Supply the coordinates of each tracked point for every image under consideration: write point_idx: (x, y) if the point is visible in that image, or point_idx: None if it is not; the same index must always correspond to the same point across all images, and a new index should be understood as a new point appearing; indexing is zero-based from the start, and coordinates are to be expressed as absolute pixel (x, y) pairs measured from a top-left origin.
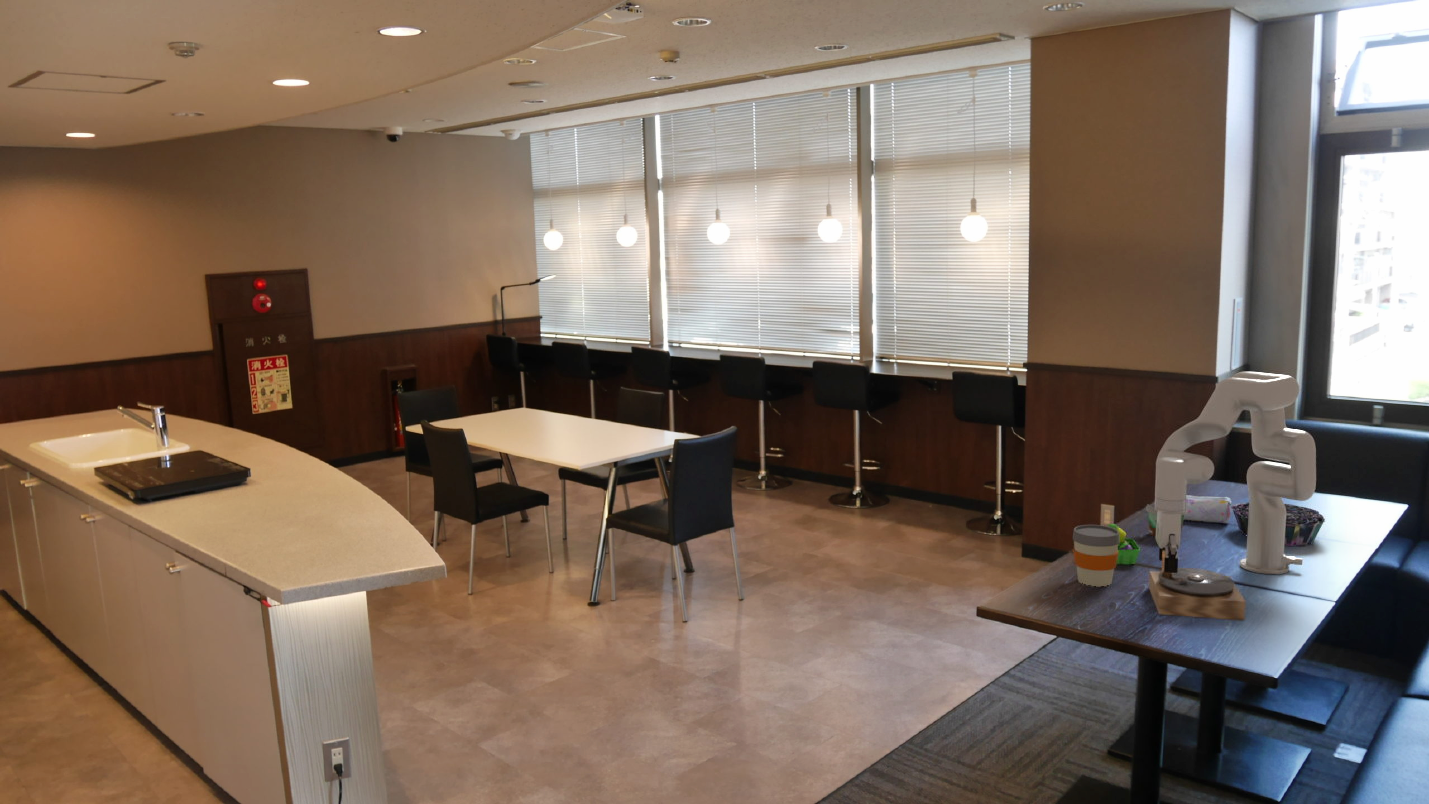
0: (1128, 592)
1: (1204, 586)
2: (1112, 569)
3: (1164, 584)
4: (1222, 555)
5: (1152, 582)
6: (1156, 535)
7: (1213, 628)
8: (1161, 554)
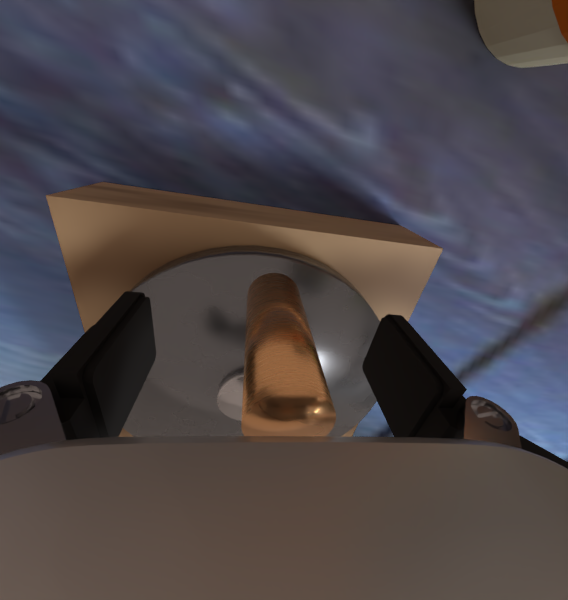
0: (368, 118)
1: (152, 400)
2: (560, 20)
3: (184, 259)
4: (557, 430)
5: (335, 228)
6: (529, 571)
7: (29, 326)
8: (399, 349)
